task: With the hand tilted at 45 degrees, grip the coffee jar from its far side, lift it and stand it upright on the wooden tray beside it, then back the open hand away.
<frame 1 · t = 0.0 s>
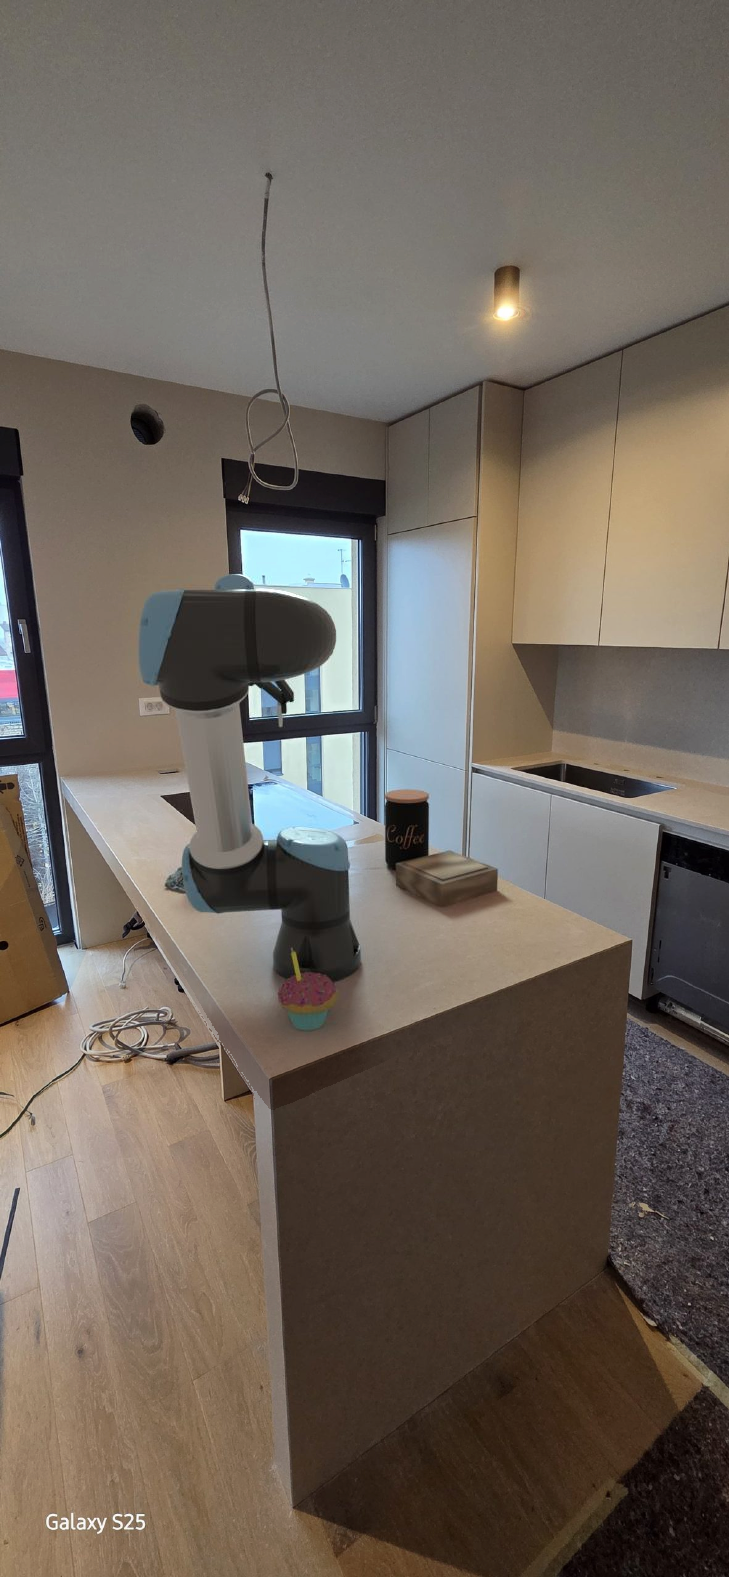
hand: (251, 723, 152), 36 cm above the countertop, tool tilted 35°, fingers open, 13 cm apart
cupcake: (308, 1022, 97), on the countertop
tree stump: (209, 878, 156), on the countertop
wooden tray: (445, 887, 147), on the countertop
coffee jar: (406, 865, 162), on the countertop
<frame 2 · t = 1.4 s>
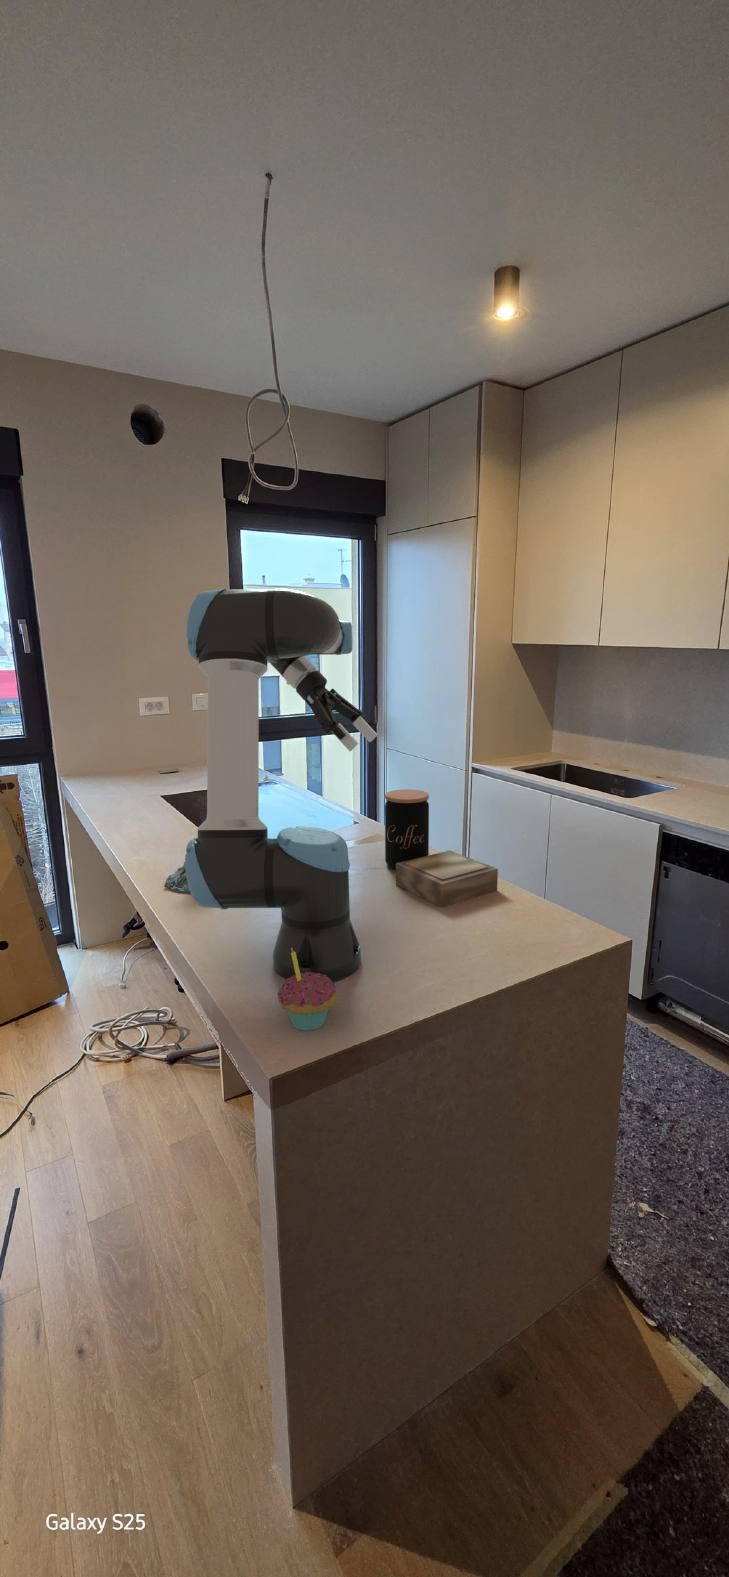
hand: (364, 743, 159), 30 cm above the countertop, tool tilted 45°, fingers open, 13 cm apart
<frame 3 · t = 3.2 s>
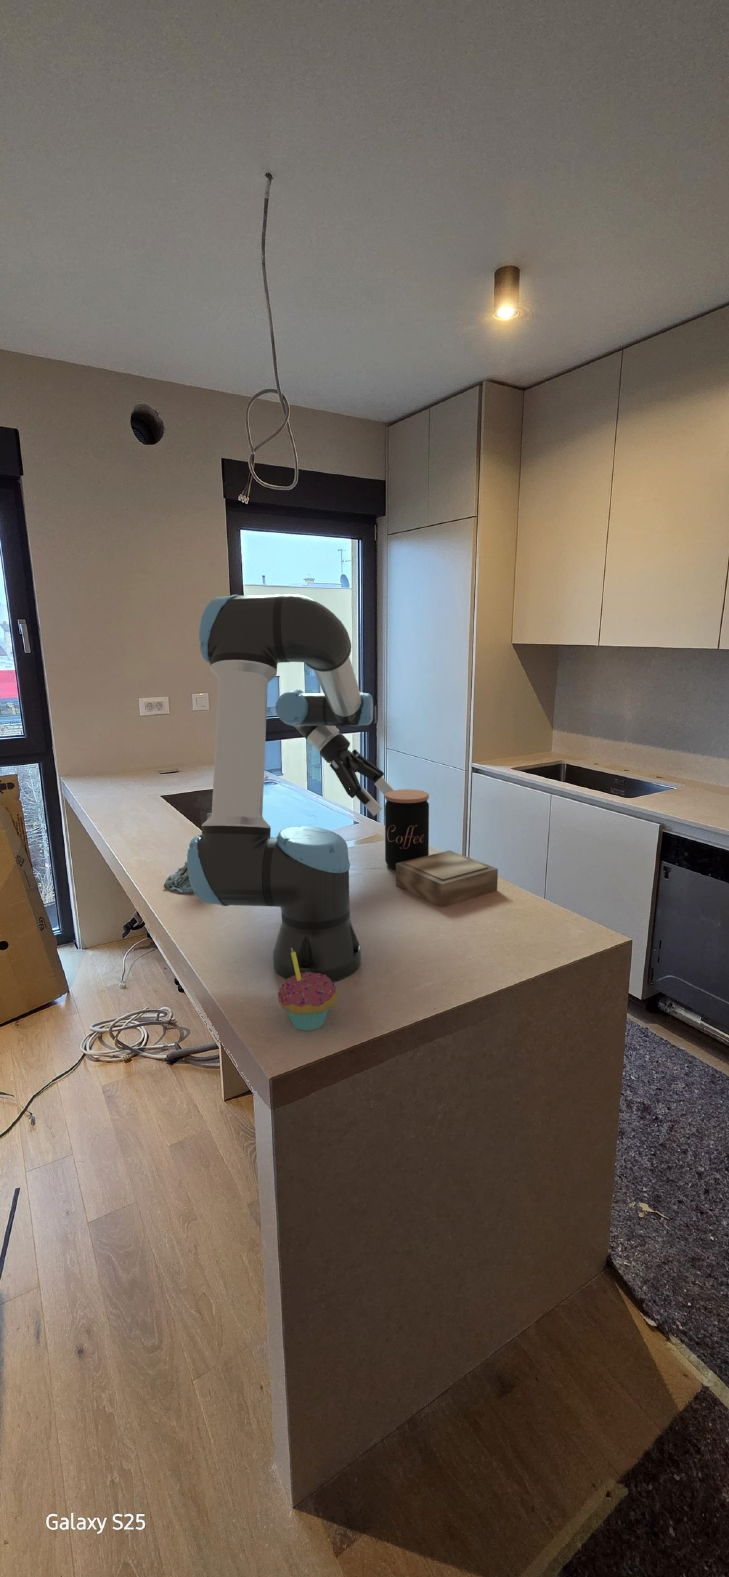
hand: (387, 805, 162), 14 cm above the countertop, tool tilted 45°, fingers open, 13 cm apart
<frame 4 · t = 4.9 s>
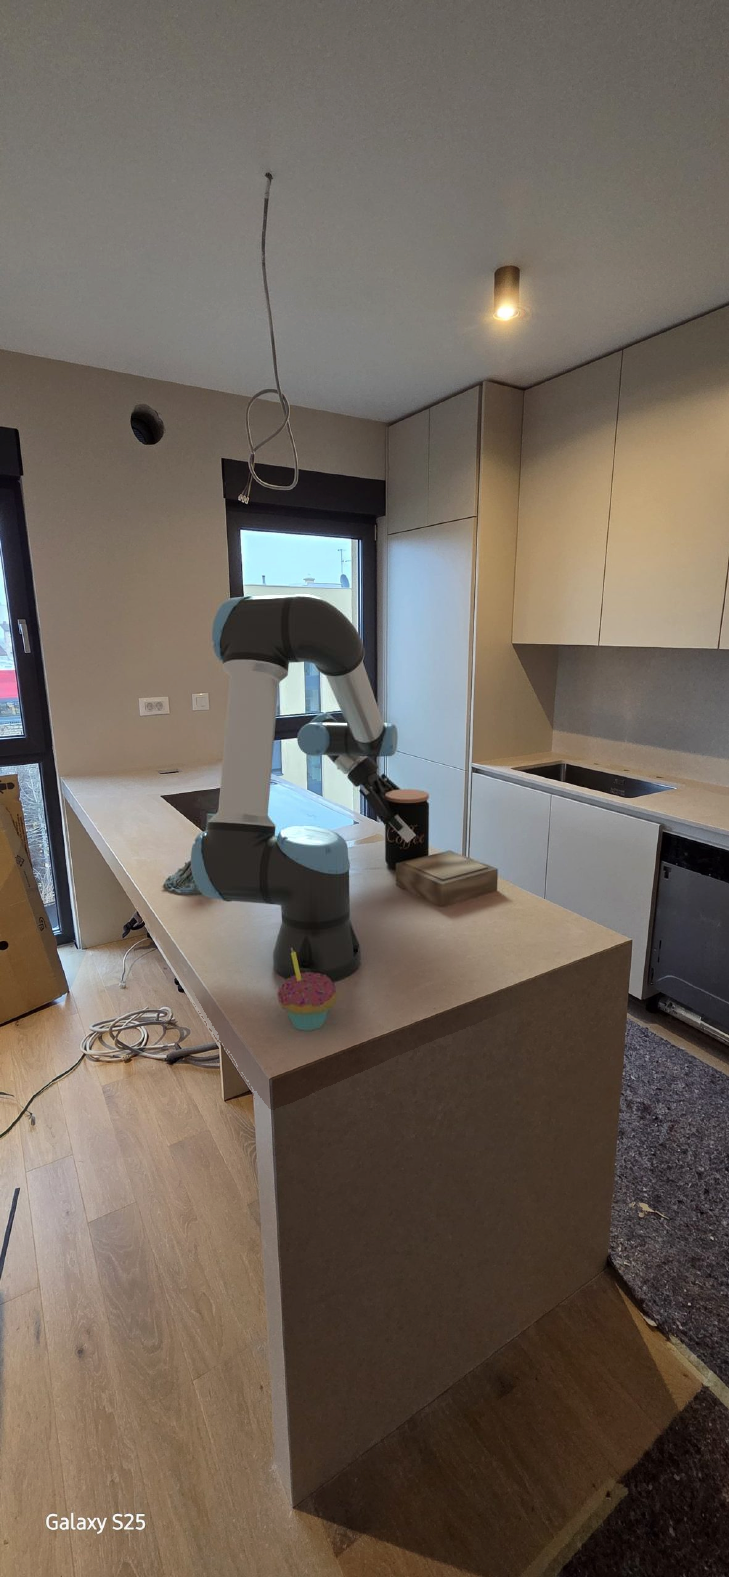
hand: (418, 832, 160), 9 cm above the countertop, tool tilted 45°, fingers closed on coffee jar, 11 cm apart
coffee jar: (406, 865, 162), on the countertop, touching gripper
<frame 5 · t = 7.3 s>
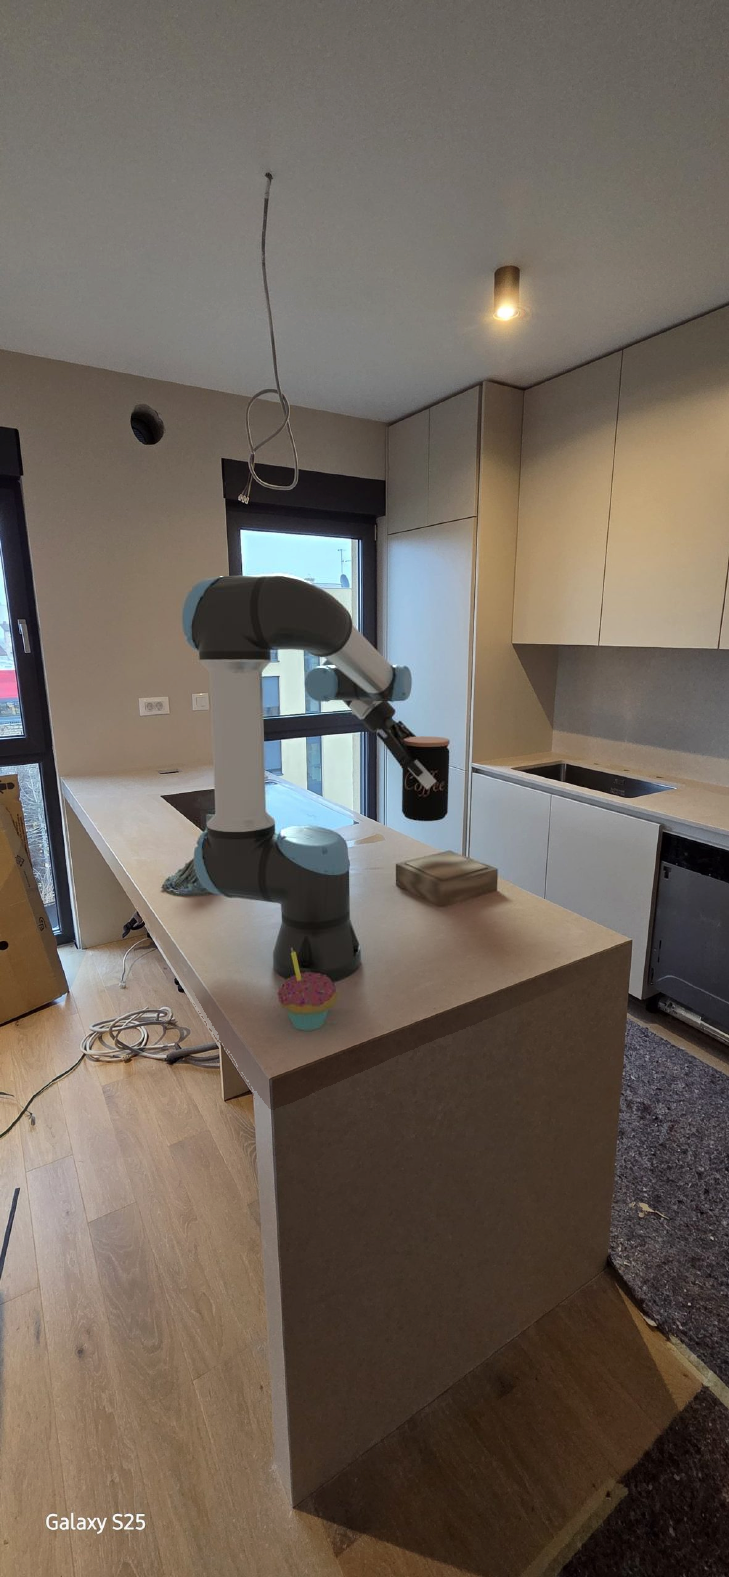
hand: (437, 780, 150), 23 cm above the countertop, tool tilted 45°, fingers closed on coffee jar, 11 cm apart
coffee jar: (424, 816, 153), point 14 cm above the countertop, touching gripper
when the fingers open (15 cm above the countertop, at t = 10.1 s): coffee jar stays where it is, resting on wooden tray.
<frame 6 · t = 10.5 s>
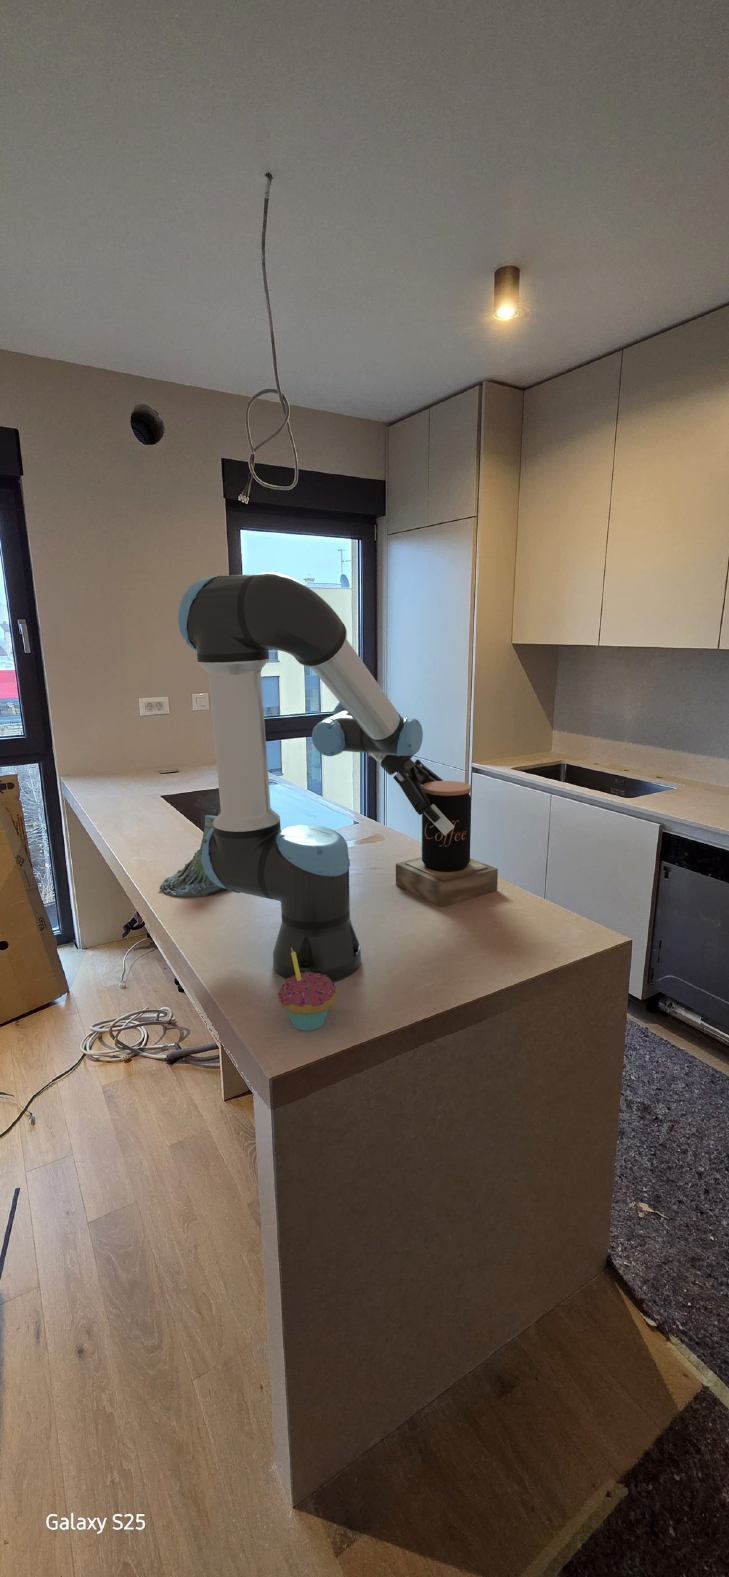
hand: (457, 822, 143), 15 cm above the countertop, tool tilted 45°, fingers open, 13 cm apart
coffee jar: (445, 865, 146), point 5 cm above the countertop, touching wooden tray
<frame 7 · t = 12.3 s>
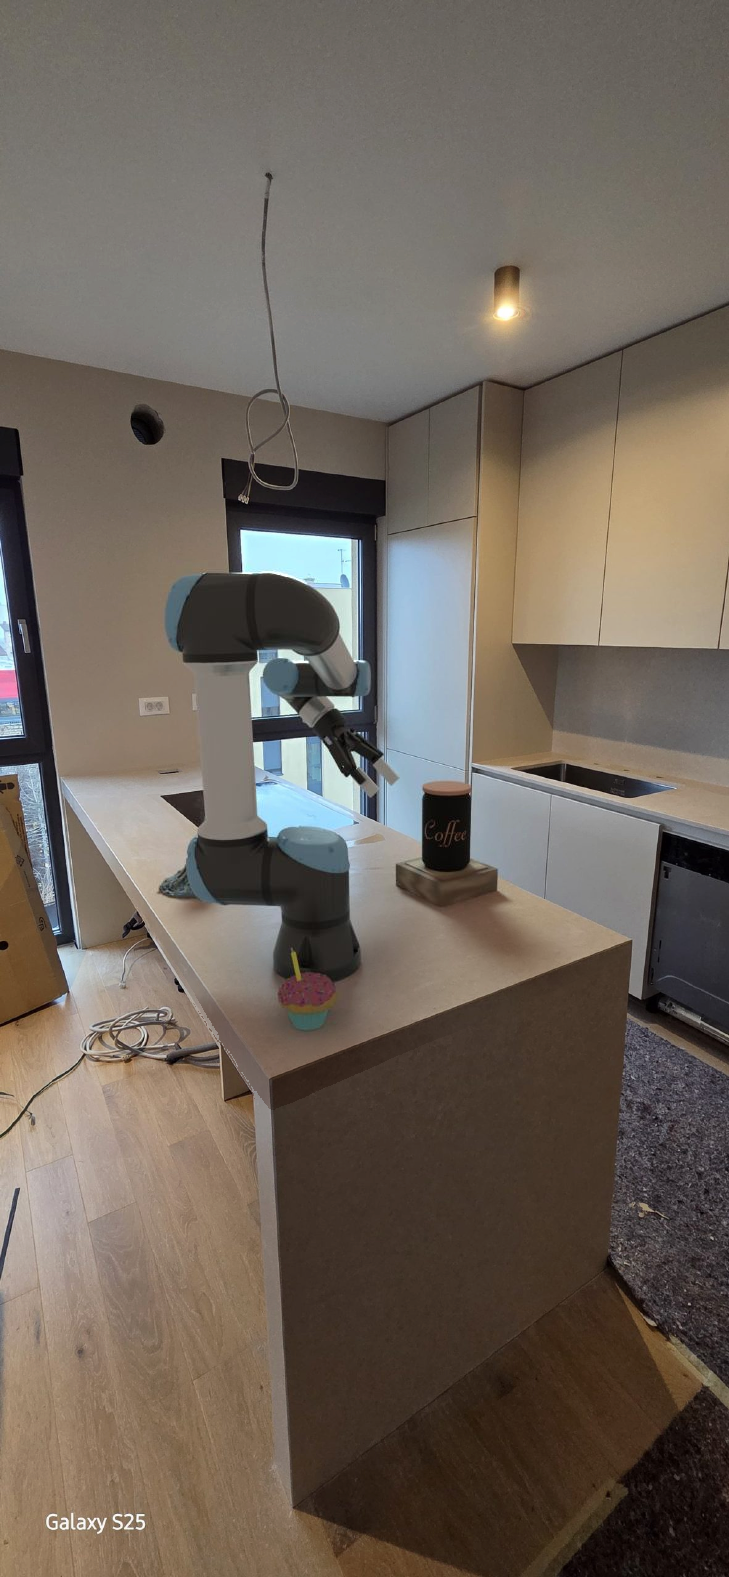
hand: (385, 787, 147), 22 cm above the countertop, tool tilted 45°, fingers open, 13 cm apart
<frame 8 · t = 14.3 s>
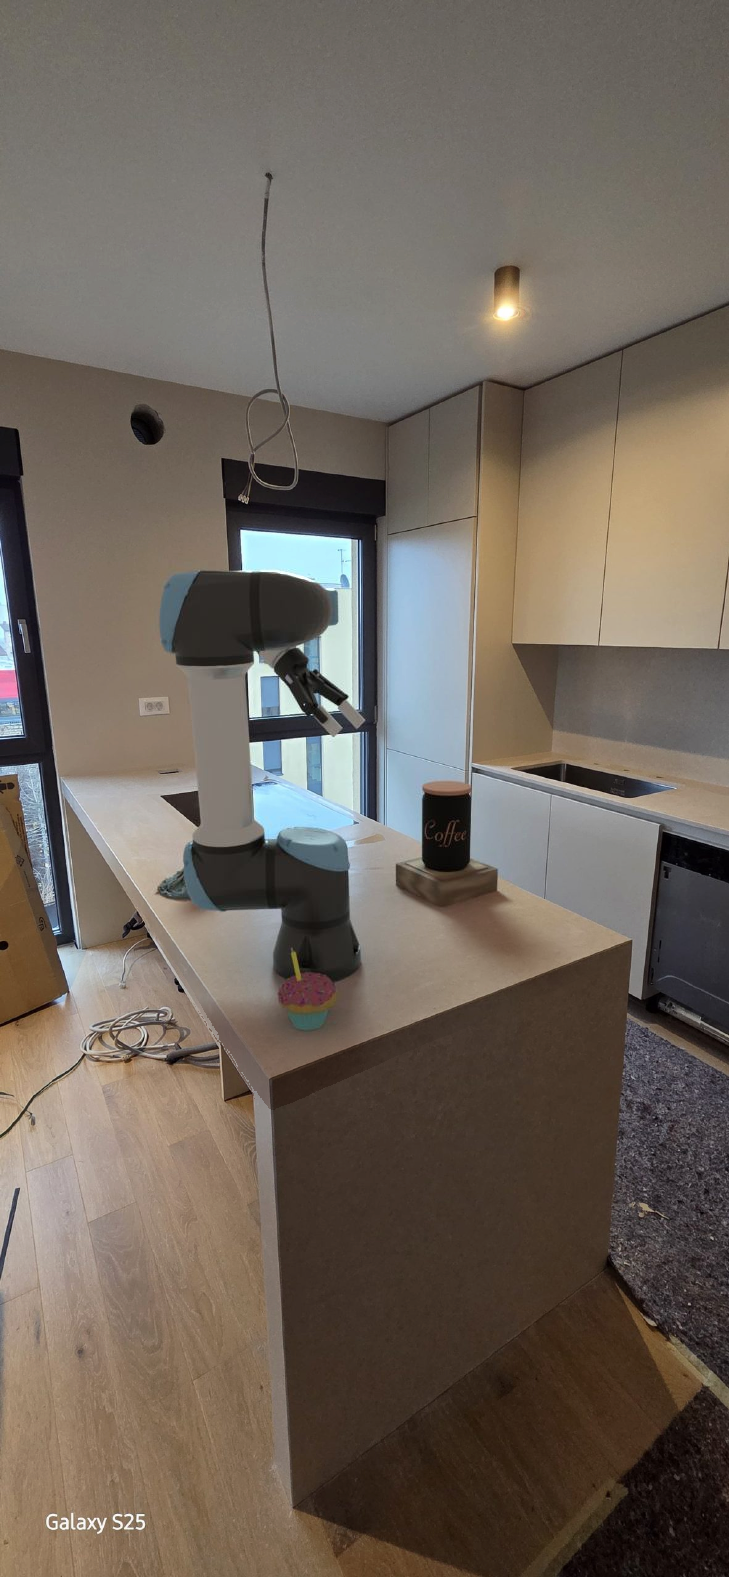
hand: (350, 728, 143), 36 cm above the countertop, tool tilted 45°, fingers open, 13 cm apart
at the end: coffee jar inside the target area on the wooden tray (0.1 cm from its centre), point 5.1 cm above the wooden tray's base; coffee jar tilted 0°; the gripper is holding nothing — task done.
